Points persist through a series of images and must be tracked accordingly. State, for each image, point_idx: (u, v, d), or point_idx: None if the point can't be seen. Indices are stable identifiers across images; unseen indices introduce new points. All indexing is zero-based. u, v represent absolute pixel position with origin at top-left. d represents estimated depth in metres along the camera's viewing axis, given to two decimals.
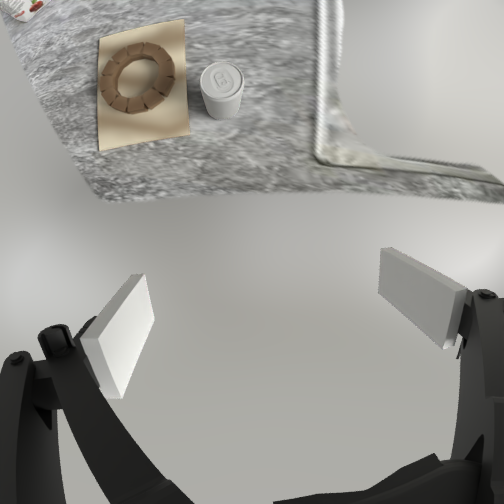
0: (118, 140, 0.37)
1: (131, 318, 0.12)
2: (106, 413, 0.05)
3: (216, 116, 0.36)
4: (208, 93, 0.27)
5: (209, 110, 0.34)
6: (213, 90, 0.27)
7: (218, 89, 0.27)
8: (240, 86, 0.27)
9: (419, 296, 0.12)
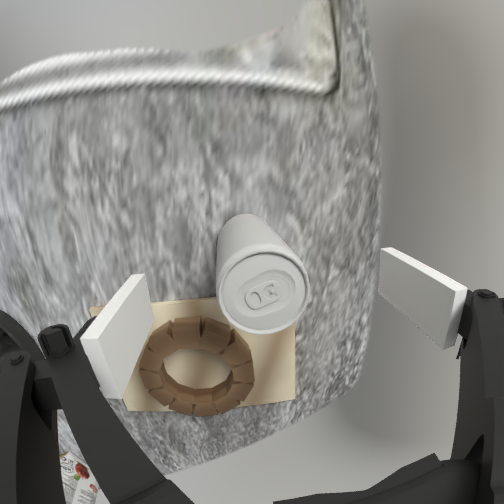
0: (286, 379, 0.29)
1: (131, 318, 0.12)
2: (106, 412, 0.05)
3: None
4: (293, 316, 0.15)
5: None
6: (288, 308, 0.15)
7: (286, 299, 0.14)
8: (281, 255, 0.14)
9: (419, 296, 0.12)
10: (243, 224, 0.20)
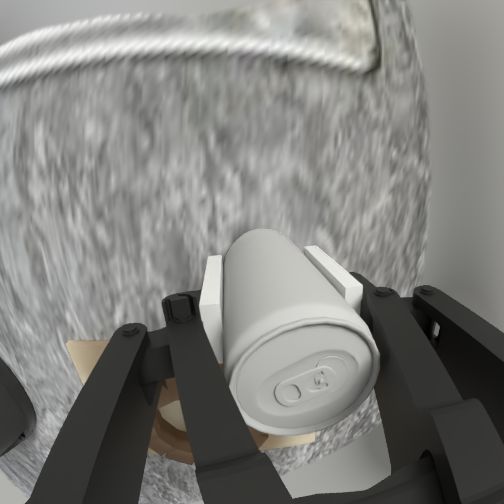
0: None
1: (223, 292, 0.14)
2: (218, 381, 0.07)
3: None
4: (348, 408, 0.08)
5: None
6: (341, 399, 0.08)
7: (340, 388, 0.08)
8: (343, 326, 0.07)
9: None
10: (263, 249, 0.13)
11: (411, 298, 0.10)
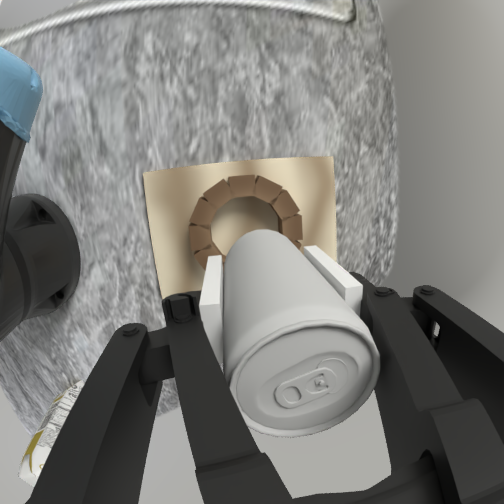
0: (328, 253, 0.32)
1: (223, 292, 0.14)
2: (218, 381, 0.07)
3: None
4: (348, 410, 0.08)
5: None
6: (342, 401, 0.08)
7: (341, 390, 0.08)
8: (343, 328, 0.07)
9: None
10: (263, 250, 0.13)
11: (411, 298, 0.10)
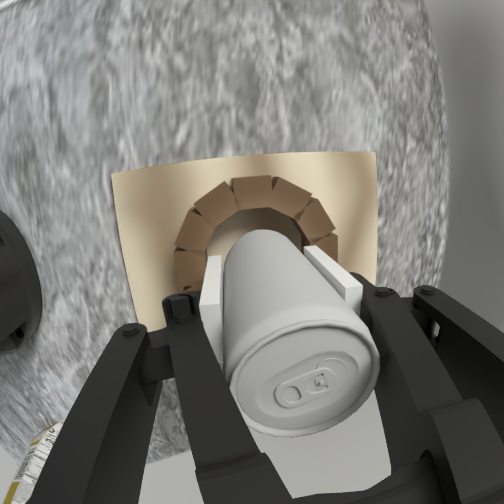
0: None
1: (223, 292, 0.14)
2: (218, 381, 0.07)
3: None
4: (348, 409, 0.08)
5: None
6: (342, 401, 0.08)
7: (341, 390, 0.08)
8: (343, 328, 0.07)
9: None
10: (263, 251, 0.13)
11: (411, 298, 0.10)
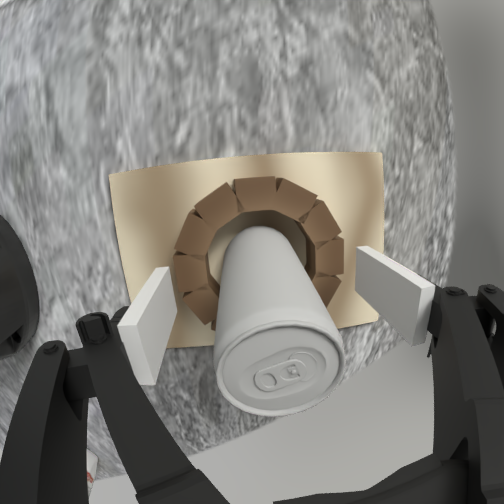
0: None
1: (160, 308, 0.13)
2: (140, 400, 0.06)
3: None
4: (319, 396, 0.10)
5: None
6: (313, 388, 0.10)
7: (311, 378, 0.10)
8: (310, 328, 0.09)
9: (390, 293, 0.12)
10: (255, 250, 0.15)
11: None
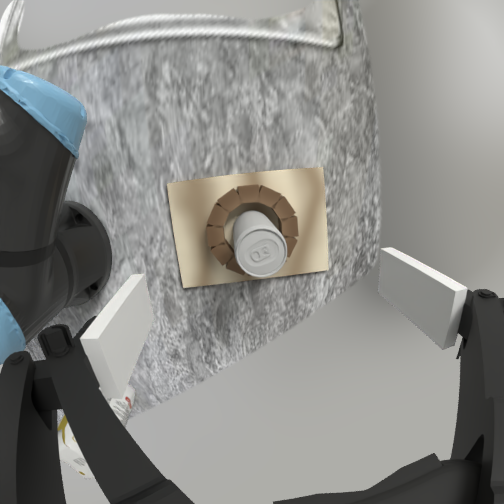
0: (321, 247, 0.39)
1: (131, 318, 0.12)
2: (106, 413, 0.05)
3: None
4: (278, 266, 0.26)
5: None
6: (275, 261, 0.26)
7: (274, 256, 0.26)
8: (270, 230, 0.25)
9: (419, 296, 0.12)
10: (249, 216, 0.32)
11: None
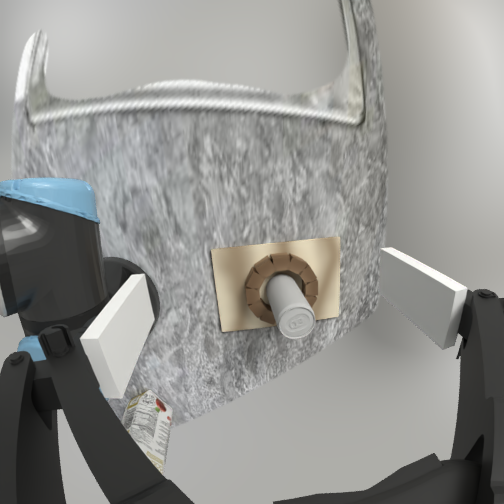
0: (333, 300, 0.47)
1: (131, 318, 0.12)
2: (106, 412, 0.05)
3: None
4: (308, 331, 0.35)
5: None
6: (306, 328, 0.35)
7: (305, 324, 0.35)
8: (304, 308, 0.34)
9: (419, 296, 0.12)
10: (283, 285, 0.40)
11: None
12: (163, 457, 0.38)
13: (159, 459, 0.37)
